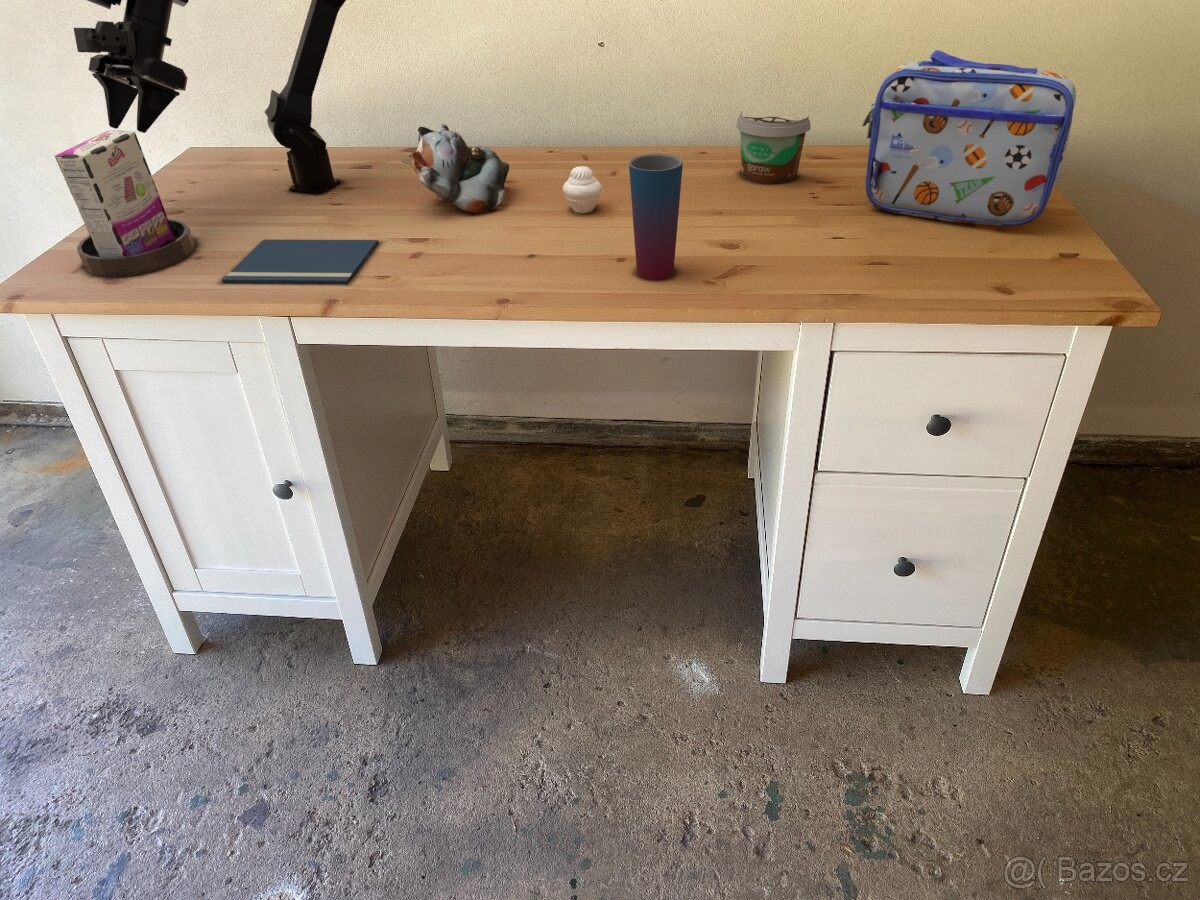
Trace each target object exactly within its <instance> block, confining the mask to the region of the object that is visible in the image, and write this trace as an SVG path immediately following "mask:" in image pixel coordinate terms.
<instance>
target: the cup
mask: <svg viewBox="0 0 1200 900" xmlns="http://www.w3.org/2000/svg"><path fill="white" fill-rule="evenodd" d="M683 167H684V161H683V159H682V158H681V157H680V156H677V155H675V154H671V153H670V154H669V153H664V152H663V153H662V152H652V153H651V152H650V153H643V154H639V155H636V156H633V157H632V158H630V159H629V160H628V172H629V185H630V186H629V187H630V199H631V212H632V224H633V239H634V252H635V253H634V254H635V267H636V274H637V275H638V277H640V278H641V279H644V280H648V281H660V280H661V281H662V280H665V279H668V278H670V277H672V276H673V275H674V272H675V259H676V248H677V236H678V223H679V212H680V202H681V201H680V200H681V189H682V177H683Z"/></svg>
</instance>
